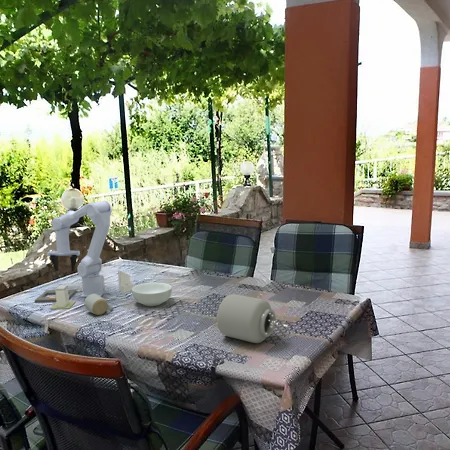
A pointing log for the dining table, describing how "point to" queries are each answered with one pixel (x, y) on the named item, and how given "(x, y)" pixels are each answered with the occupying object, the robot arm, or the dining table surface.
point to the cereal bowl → (151, 293)
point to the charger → (62, 296)
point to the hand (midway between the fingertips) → (65, 270)
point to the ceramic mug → (96, 304)
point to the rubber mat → (63, 307)
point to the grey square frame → (51, 299)
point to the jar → (245, 318)
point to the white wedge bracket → (124, 282)
